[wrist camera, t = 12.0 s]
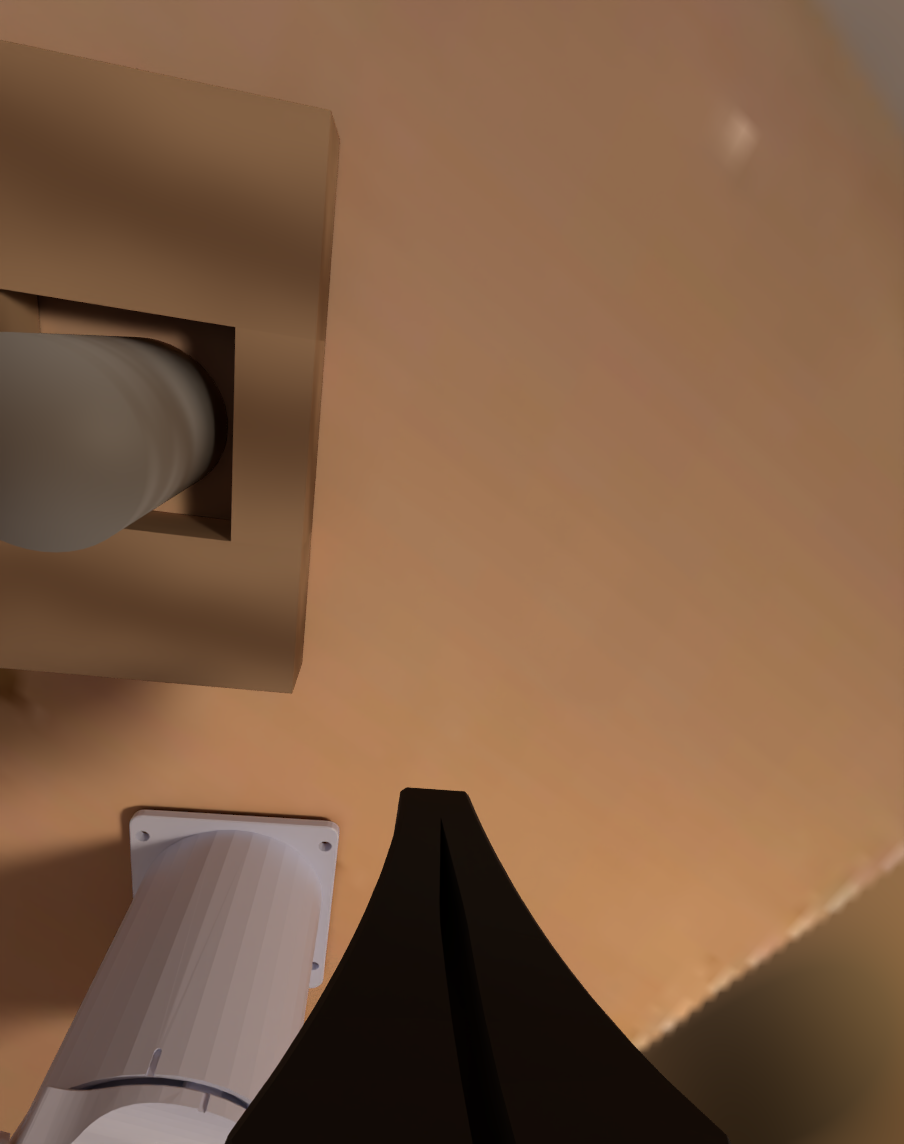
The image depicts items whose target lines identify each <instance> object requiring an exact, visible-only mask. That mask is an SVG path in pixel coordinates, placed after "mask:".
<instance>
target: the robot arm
mask: <svg viewBox="0 0 904 1144" xmlns="http://www.w3.org/2000/svg"><path fill="white" fill-rule="evenodd" d="M142 831H144V832H147V833H148V834H147V833H143V832H142ZM129 832H130V851H131V870H132V889H133V900H132V903H131V905H130V907H129V909H128V911H127V913H126V915H125V917H124V919H123V921H122V923H121V925H120V927H119V929H118V931H117V933H116V935H115V937H114V939H113V941H112V943H111V945H110V947H109V949H108V951H107V953H106V955H105V957H104V959H103V961H102V963H101V965H100V967H99V969H98V971H97V973H96V975H95V977H94V979H93V981H92V983H91V985H90V988H89V990H88V992H87V994H86V996H85V998H84V1000H83V1002H82V1004H81V1006H80V1008H79V1010H78V1012H77V1014H76V1016H75V1018H74V1020H73V1022H72V1024H71V1026H70V1028H69V1030H68V1032H67V1034H66V1036H65V1038H64V1040H63V1042H62V1044H61V1046H60V1048H59V1050H58V1052H57V1054H56V1056H55V1058H54V1060H53V1062H52V1064H51V1066H50V1068H49V1070H48V1072H47V1075H46V1077H45V1079H44V1081H43V1083H42V1085H41V1087H40V1089H39V1091H38V1093H37V1095H36V1097H35V1099H34V1101H33V1103H32V1105H31V1107H30V1109H29V1111H28V1113H27V1114H26V1116H25V1117H24V1119H23V1120H22V1122H21V1123H20V1125H19V1126H18V1128H17V1130H16V1131H15V1133H14V1134H13V1136H12V1137H11V1139H10V1133H7V1132H3V1131H0V1144H731V1142H730V1140H729V1138H728V1136H727V1135H726V1134H725V1133H724V1132H723V1131H722V1130H720V1129H719V1128H718V1127H717V1126H716V1125H715V1124H714V1123H713V1122H712V1121H711V1120H710V1119H709V1118H708V1117H707V1116H705V1115H704V1114H703V1113H702V1112H701V1111H700V1110H699V1109H698V1108H697V1107H696V1106H695V1105H694V1104H692V1103H691V1102H690V1101H689V1100H688V1099H687V1098H686V1097H685V1096H684V1095H683V1094H682V1093H681V1092H680V1091H679V1090H677V1089H676V1088H675V1087H674V1086H673V1085H672V1084H671V1083H670V1082H669V1081H668V1080H667V1079H666V1078H665V1077H664V1076H663V1075H662V1074H661V1073H660V1072H659V1071H658V1070H657V1069H656V1068H655V1067H654V1066H653V1065H652V1064H651V1063H650V1062H649V1061H648V1060H647V1059H646V1058H645V1057H644V1055H643V1054H642V1053H641V1052H640V1051H639V1050H638V1049H637V1048H636V1047H635V1046H634V1045H633V1044H632V1043H631V1042H630V1040H629V1039H628V1038H627V1037H626V1036H625V1035H624V1034H623V1032H622V1031H621V1030H620V1029H619V1028H618V1027H617V1026H616V1024H615V1023H614V1022H613V1021H612V1020H611V1019H610V1018H609V1016H608V1015H607V1014H606V1013H605V1012H604V1011H603V1010H602V1008H601V1007H600V1006H599V1005H598V1004H597V1003H596V1002H595V1000H594V999H593V998H592V997H591V996H590V994H589V993H588V992H587V991H586V989H585V988H584V987H583V986H582V984H581V983H580V982H579V981H578V979H577V978H576V977H575V975H574V974H573V973H572V972H571V970H570V969H569V968H568V966H567V965H566V964H565V962H564V961H563V960H562V958H561V957H560V956H559V954H558V953H557V951H556V950H555V949H554V947H553V946H552V945H551V943H550V942H549V940H548V939H547V937H546V936H545V934H544V933H543V931H542V930H541V929H540V927H539V926H538V924H537V923H536V921H535V919H534V918H533V916H532V915H531V913H530V912H529V910H528V908H527V907H526V905H525V904H524V902H523V901H522V899H521V897H520V896H519V894H518V892H517V891H516V889H515V887H514V885H513V884H512V882H511V880H510V878H509V877H508V875H507V873H506V871H505V869H504V868H503V866H502V864H501V862H500V861H499V859H498V857H497V855H496V853H495V851H494V849H493V847H492V845H491V843H490V841H489V839H488V837H487V835H486V833H485V831H484V829H483V827H482V825H481V823H480V821H479V819H478V816H477V814H476V812H475V810H474V807H473V805H472V803H471V800H470V798H469V796H468V795H467V793H466V792H464V791H450V790H436V789H421V788H405V789H404V790H402V791H401V792H400V798H399V804H398V811H397V817H396V824H395V830H394V836H393V839H392V842H391V845H390V848H389V851H388V854H387V857H386V860H385V863H384V866H383V869H382V872H381V874H380V877H379V879H378V882H377V884H376V887H375V889H374V891H373V894H372V896H371V898H370V901H369V903H368V906H367V908H366V910H365V912H364V915H363V917H362V919H361V921H360V923H359V925H358V928H357V930H356V932H355V934H354V936H353V938H352V940H351V942H350V944H349V946H348V948H347V950H346V952H345V953H344V955H343V957H342V959H341V961H340V963H339V965H338V967H337V968H336V970H335V972H334V974H333V976H332V977H331V979H330V981H329V983H328V985H327V986H326V988H325V990H324V992H323V993H322V995H321V997H320V999H319V1000H318V1002H317V1004H316V1005H315V1007H314V1009H313V1010H312V1012H311V1014H310V1015H309V1017H308V1018H307V1020H306V1022H305V1023H304V1016H305V1009H306V1003H307V996H308V990H309V988H315V987H318V986H319V985H320V984H322V981H323V976H324V967H325V958H326V949H327V940H328V931H329V922H330V913H331V904H332V895H333V886H334V877H335V868H336V859H337V850H338V841H339V827H338V825H337V824H336V823H334V822H331V821H324V820H308V819H291V818H275V817H259V816H243V815H227V814H210V813H194V812H178V811H162V810H139V811H137V812H136V813H135V814H134V815H133V816H132V818H131V820H130V823H129ZM325 841H326V842H329V843H328V844H325V843H322V842H325ZM303 1023H304V1025H303ZM9 1139H10V1140H9Z"/></svg>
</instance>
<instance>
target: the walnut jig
mask: <svg viewBox="0 0 904 1144" xmlns="http://www.w3.org/2000/svg"><path fill="white" fill-rule="evenodd" d="M339 145H340V138H339V135H338V131H337V128H336V125H335V122H334V119H333V116H332V112H331V110H327V109H322V108H318V107H313V106H308V105H304V104H299V103H294V102H290V101H285V100H280V99H275V98H271V97H266V96H261V95H257V94H252V93H247V92H243V91H238V90H233V89H229V88H224V87H219V86H214V85H210V84H205V83H200V82H196V81H191V80H186V79H182V78H177V77H172V76H167V75H163V74H158V73H153V72H149V71H144V70H139V69H135V68H130V67H125V66H121V65H116V64H111V63H106V62H102V61H97V60H92V59H88V58H83V57H78V56H74V55H69V54H64V53H59V52H55V51H50V50H45V49H41V48H36V47H31V46H27V45H22V44H17V43H13V42H8V41H3V40H0V668H7V669H19V670H30V671H41V672H53V673H64V674H75V675H87V676H98V677H109V678H121V679H132V680H143V681H155V682H166V683H177V684H189V685H200V686H211V687H223V688H234V689H246V690H257V691H268V692H280V693H291V694H292V692H293V689H294V686H295V683H296V680H297V677H298V674H299V671H300V668H301V665H302V658H303V644H304V630H305V616H306V603H307V589H308V575H309V561H310V547H311V533H312V519H313V505H314V492H315V478H316V464H317V450H318V436H319V422H320V408H321V394H322V381H323V367H324V353H325V339H326V325H327V311H328V297H329V283H330V269H331V256H332V242H333V228H334V214H335V200H336V186H337V172H338V158H339ZM37 295H42V296H48V297H54V298H60V299H67V300H73V301H79V302H85V303H91V304H97V305H103V306H109V307H115V308H122V309H128V310H134V311H140V312H146V313H152V314H158V315H164V316H171V317H177V318H183V319H189V320H195V321H201V322H207V323H213V324H219V325H226V326H232V327H235V373H234V420H233V468H232V515H231V520H224V519H216V518H208V517H200V516H191V515H183V514H175V513H167V512H159V511H152V510H153V509H155V508H157V507H158V506H160V505H161V504H163V503H164V502H166V501H168V500H169V499H171V498H172V497H174V496H175V495H177V494H178V493H180V492H182V491H183V490H185V489H186V488H188V487H189V486H191V485H193V484H194V483H196V482H197V481H199V480H200V479H202V478H203V477H204V476H206V475H207V474H208V473H209V472H210V471H211V470H212V469H213V468H214V466H215V465H216V464H217V462H218V460H219V459H220V457H221V455H222V453H223V450H224V447H225V443H226V439H227V430H228V426H227V415H226V409H225V406H224V402H223V399H222V397H221V395H220V392H219V390H218V388H217V386H216V385H215V383H214V381H213V380H212V378H211V377H210V376H209V374H208V373H207V372H206V371H205V370H204V368H203V367H202V366H201V365H200V364H199V363H198V362H197V361H195V360H194V359H193V358H192V357H191V356H189V355H188V354H186V353H185V352H183V351H182V350H180V349H178V348H176V347H174V346H172V345H170V344H168V343H165V342H162V341H159V340H155V339H150V338H141V337H121V336H96V335H72V334H47V333H40V322H39V311H38V299H37Z"/></svg>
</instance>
